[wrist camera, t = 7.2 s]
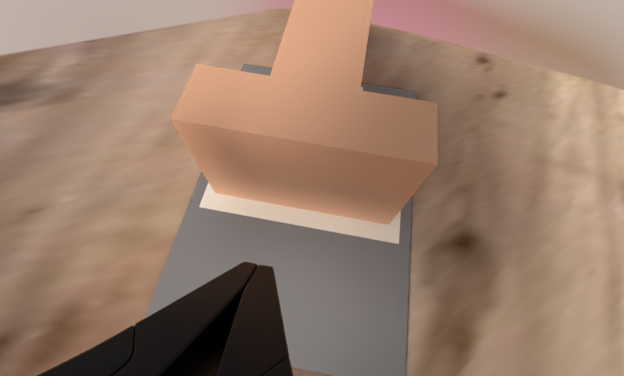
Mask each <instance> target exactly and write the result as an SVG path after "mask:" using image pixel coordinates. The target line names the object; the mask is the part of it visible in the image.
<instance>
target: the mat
mask: <svg viewBox="0 0 624 376" xmlns="http://www.w3.org/2000/svg"><path fill="white" fill-rule="evenodd" d="M241 71H244V72H250V73H256V74H262V75H268V76H270V74H271V71H272V69H271V68H265V67H259V66H253V65H246V64H244V65H243V67H242V70H241ZM360 90H361V91H367V92H374V93H380V94H386V95H392V96H398V97H405V98H411V99H416V92H415V91H408V90H402V89H396V88H390V87H383V86H377V85H371V84H365V83H361V89H360ZM411 215H412V197H411V198H410V200H409V201H408V202H407V203H406V204H405V206H404V207H403V208H402V209H401V211H400V212H399V213H398V214H397V215H396V217H395V218H394V219H393V220H392V221H391V223H390V224H389V225H387V224H381V223H376V222H370V221H365V220H359V219H354V218H348V217H343V216H337V215H332V214H326V213H321V212H315V211H310V210H304V209H299V208H293V207H288V206H282V205H277V204H271V203H266V202H260V201H255V200H249V199H244V198H238V197H233V196H227V195H222V194H216V193H215V192H214V190H213V189H212V187H211V186H210V184H209V182H208V181H207V179H206V177H205V176H204V174H203V173H202V172H201V174H200V177H199V180H198V182H197V185H196V187H195V190H194V192H193V195H192V197H191V200H190V202H189V205H188V208H187V210H186V213H185V215H184V218H183V220H182V223H181V225H180V228H179V230H178V233H177V236H176V238H175V241H174V243H173V246H172V248H171V251H170V253H169V256H168V259H167V261H166V264H165V266H164V269H163V271H162V274H161V276H160V279H159V281H158V284H157V287H156V289H155V292H154V294H153V297H152V299H151V302H150V304H149V307H148V309H147V312H146V315H145V317H144V319H145V318H146V317H148V316H150V315H152V314H153V313H155V312H157V311H159V310H160V309H162V308H164V307H165V306H167V305H169V304H171V303H172V302H174V301H176V300H178V299H179V298H181V297H183V296H185V295H186V294H188V293H190V292H192V291H193V290H195V289H197V288H199V287H200V286H202V285H204V284H205V283H207V282H209V281H211V280H212V279H214V278H216V277H218V276H219V275H221V274H223V273H225V272H226V271H228V270H230V269H232V268H233V267H235V266H237V265H239V264H240V263H242V262H251V263H256V264H258V266H259V265H266V266H271V267H273V269H274V274H275V279H276V285H277V290H278V296H279V301H280V307H281V313H282V318H283V324H284V329H285V335H286V341H287V346H288V352H289V359H290V362H291V367H294V368H298V369H303V370H308V371H313V372H318V373H323V374H327V375H332V376H405V372H406V346H407V320H408V294H409V268H410V241H411Z"/></svg>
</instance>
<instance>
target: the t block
mask: <svg viewBox="0 0 624 376" xmlns="http://www.w3.org/2000/svg"><path fill="white" fill-rule="evenodd" d="M372 7H373V0H295V1H294V4H293V7H292V10H291V13H290V16H289V19H288V22H287V25H286V28H285V31H284V34H283V38H282V41H281V44H280V47H279V50H278V53H277V56H276V59H275V62H274V65H273V68H272V71H271V74H270V76H268V75H262V74H256V73H250V72H244V71H237V70H231V69H225V68H219V67H213V66H206V65H200V64H196V66H195V68H194V70H193V72H192V74H191V76H190V78H189V80H188V82H187V84H186V86H185V88H184V90H183V92H182V94H181V96H180V98H179V100H178V103H177V105H176V107H175V109H174V111H173V113H172V115H171V117H170V121H171V122H172V124H173V126H174V127H175V129H176V130H177V132H178V134H179V135H180V137H181V138H182V140H183V142H184V143H185V145H186V147H187V148H188V150H189V151H190V153H191V155H192V156H193V158H194V160H195V161H196V163H197V164H198V166H199V168H200V169H201V171H202V173H203V174H204V176H205V177H206V179H207V181H208V182H209V184H210V186H211V187H212V189H213V190H214V192H215V193H216V194H222V195H227V196H233V197H238V198H244V199H249V200H255V201H260V202H266V203H271V204H277V205H282V206H288V207H293V208H299V209H304V210H310V211H315V212H321V213H326V214H332V215H337V216H343V217H348V218H354V219H359V220H365V221H370V222H376V223H381V224H387V225H389V224H390V223H391V221H392V220H393V219H394V218H395V217H396V215H397V214H398V213H399V212H400V211H401V209H402V208H403V207H404V206H405V204H406V203H407V202H408V201H409V200H410V198H411V197H412V196H413V195H414V194H415V192H416V191H417V190H418V189H419V187H420V186H421V185H422V184H423V183H424V181H425V180H426V179H427V178H428V177H429V175H430V174H431V173H432V172H433V170H434V169H435V168H436V167H437V166H438V103H436V102H429V101H423V100H417V99H411V98H405V97H398V96H392V95H386V94H380V93H374V92H367V91H361V90H360V89H361V82H362V76H363V69H364V62H365V55H366V48H367V41H368V35H369V28H370V21H371V14H372Z"/></svg>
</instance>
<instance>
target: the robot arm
mask: <svg viewBox="0 0 624 376" xmlns="http://www.w3.org/2000/svg"><path fill="white" fill-rule="evenodd" d="M37 376H293V373H292V367H291V362H290V359H289V352H288V346H287V341H286V335H285V329H284V324H283V318H282V313H281V307H280V301H279V296H278V290H277V285H276V279H275V274H274V269H273V267H271V266H266V265H259V266H258V264H256V263H251V262H242V263H240V264H239V265H237V266H235V267H233V268H232V269H230V270H228V271H226V272H225V273H223V274H221V275H219V276H218V277H216V278H214V279H212V280H211V281H209V282H207V283H205V284H204V285H202V286H200V287H199V288H197V289H195V290H193V291H192V292H190V293H188V294H186V295H185V296H183V297H181V298H179V299H178V300H176V301H174V302H172V303H171V304H169V305H167V306H165V307H164V308H162V309H160V310H159V311H157V312H155V313H153V314H152V315H150V316H148V317H146V318H145V319H143V320H141V321H139V322H138V323H136V324H135V327H134V326H130V327H129V328H127V329H125V330H124V331H122V332H120V333H118V334H117V335H115V336H113V337H111V338H109V339H107V340H106V341H104V342H102V343H100V344H98V345H97V346H95V347H93V348H91V349H89V350H87V351H85V352H83V353H81V354H79V355H77V356H75V357H73V358H71V359H69V360H68V361H66V362H64V363H62V364H60V365H58V366H56V367H54V368H51V369H49V370H47V371H45V372H43V373H41V374H39V375H37Z"/></svg>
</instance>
